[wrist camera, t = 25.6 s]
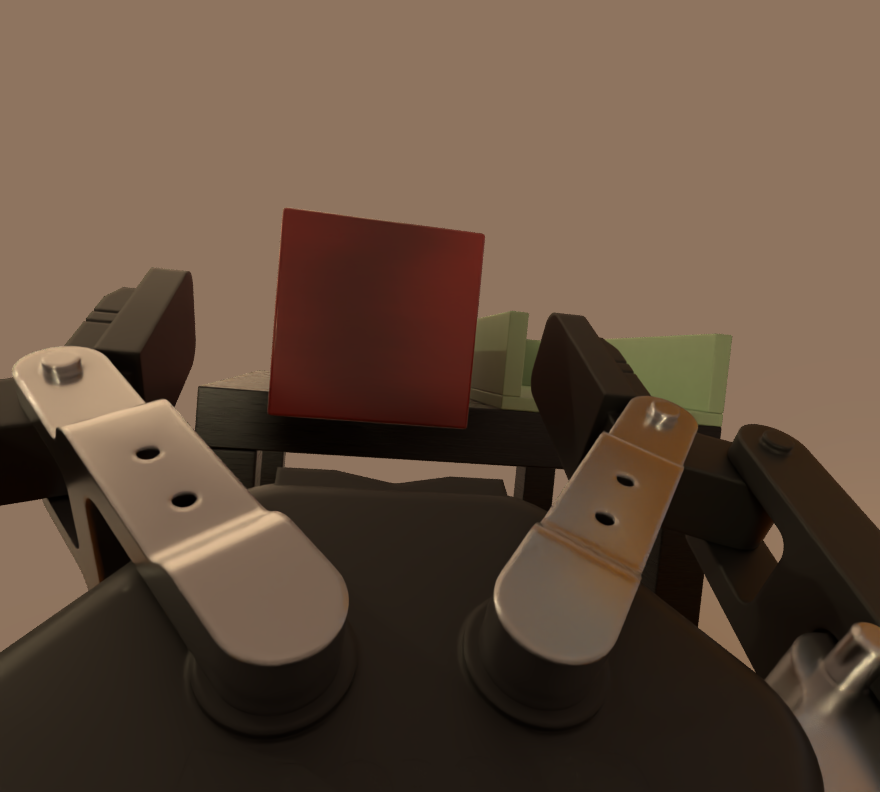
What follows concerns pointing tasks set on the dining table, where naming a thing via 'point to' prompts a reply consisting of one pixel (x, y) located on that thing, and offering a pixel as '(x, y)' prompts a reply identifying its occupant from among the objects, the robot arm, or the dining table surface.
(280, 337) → the red bar
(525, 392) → the olive green shallow box
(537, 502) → the stand
